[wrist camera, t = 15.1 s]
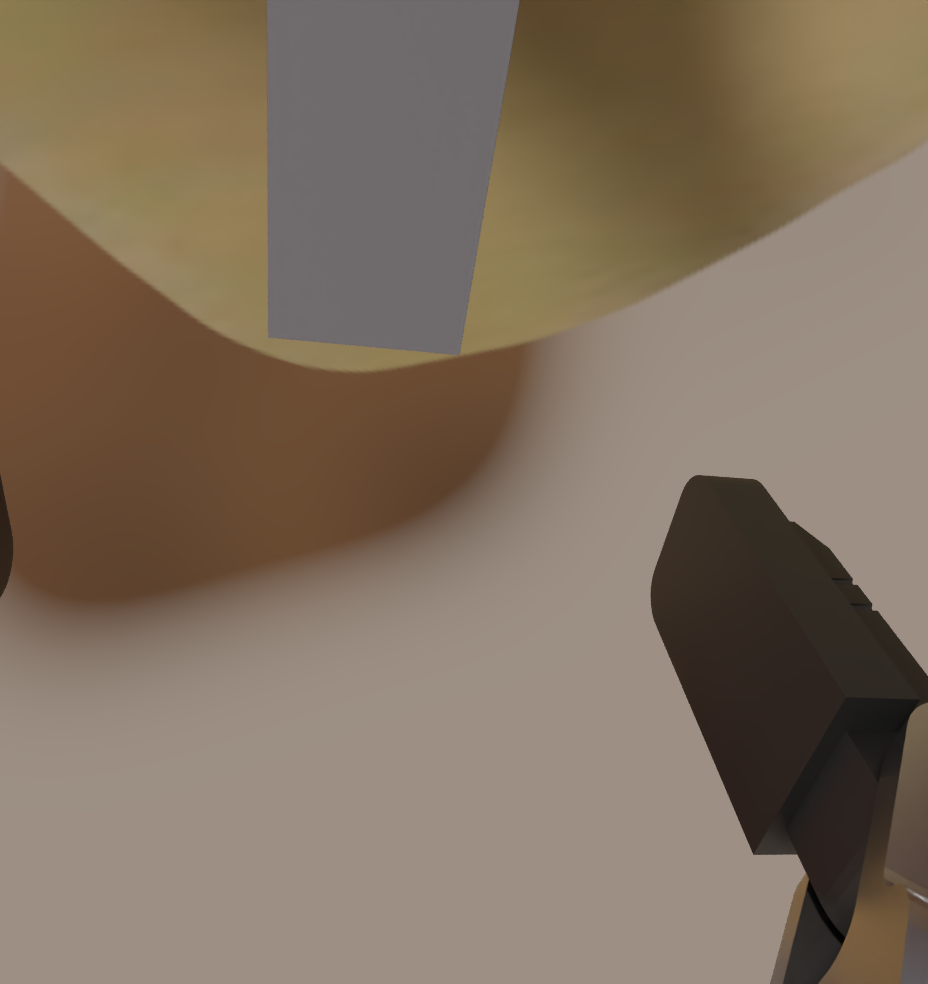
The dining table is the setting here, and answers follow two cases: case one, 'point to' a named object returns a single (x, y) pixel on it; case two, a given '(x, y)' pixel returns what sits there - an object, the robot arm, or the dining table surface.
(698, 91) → the dining table surface
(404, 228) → the lid flap
